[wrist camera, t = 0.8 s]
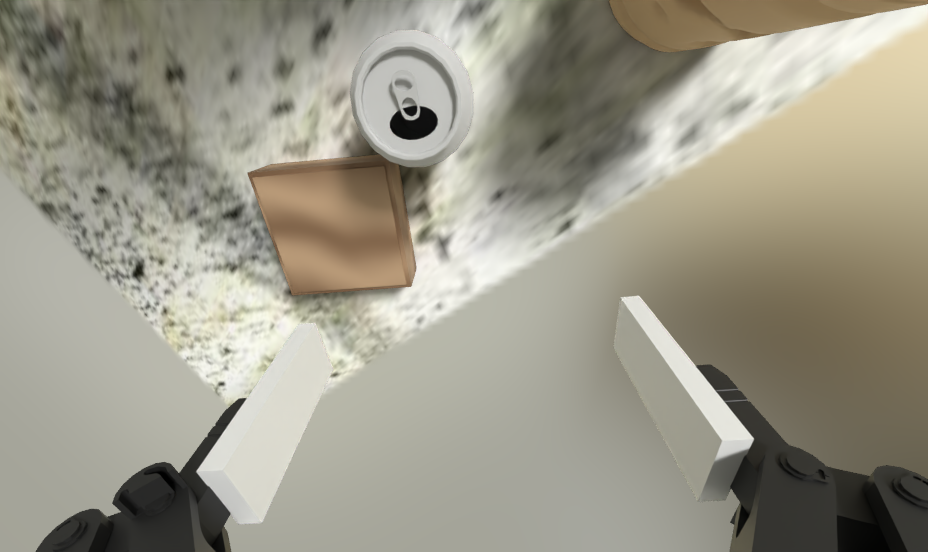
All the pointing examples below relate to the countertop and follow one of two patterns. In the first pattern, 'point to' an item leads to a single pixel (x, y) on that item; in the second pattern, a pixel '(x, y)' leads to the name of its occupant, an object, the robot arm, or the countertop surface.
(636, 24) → the container
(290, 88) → the countertop surface
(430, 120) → the can
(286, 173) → the tan cardboard box
